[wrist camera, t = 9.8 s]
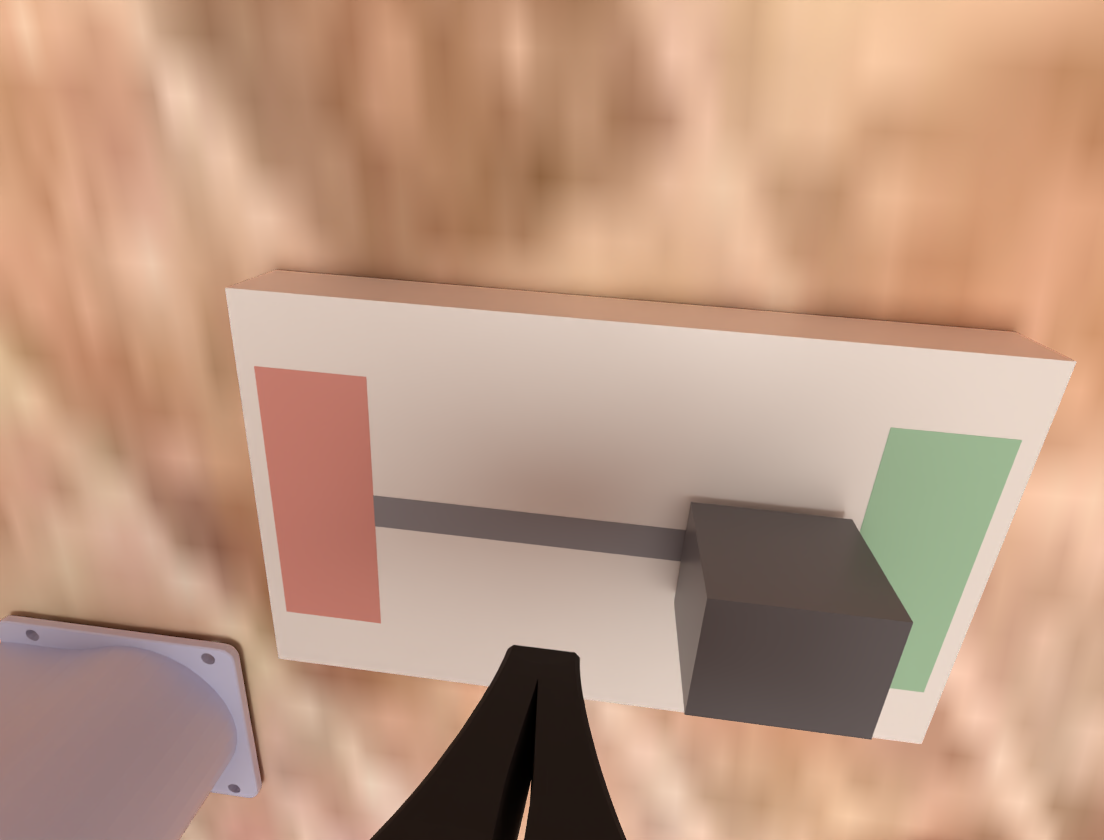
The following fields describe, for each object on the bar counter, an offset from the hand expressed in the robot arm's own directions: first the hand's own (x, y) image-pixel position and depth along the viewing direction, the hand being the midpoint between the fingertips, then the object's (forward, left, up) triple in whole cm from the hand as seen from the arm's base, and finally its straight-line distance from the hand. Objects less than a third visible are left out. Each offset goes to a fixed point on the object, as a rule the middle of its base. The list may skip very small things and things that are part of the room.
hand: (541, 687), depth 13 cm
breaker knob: (+5, 0, -5) cm, 7 cm away
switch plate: (+1, 0, -8) cm, 8 cm away
